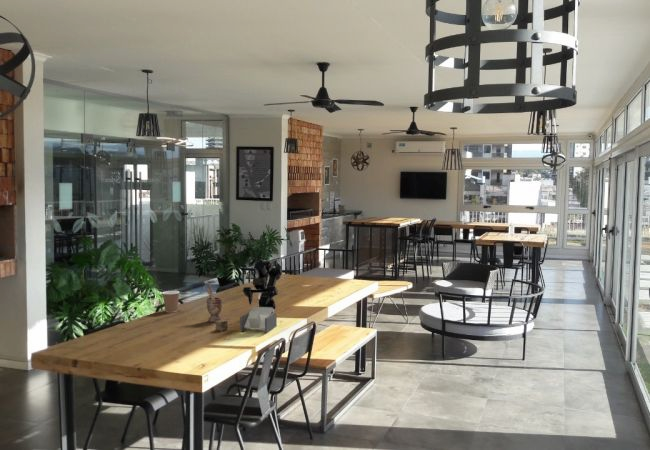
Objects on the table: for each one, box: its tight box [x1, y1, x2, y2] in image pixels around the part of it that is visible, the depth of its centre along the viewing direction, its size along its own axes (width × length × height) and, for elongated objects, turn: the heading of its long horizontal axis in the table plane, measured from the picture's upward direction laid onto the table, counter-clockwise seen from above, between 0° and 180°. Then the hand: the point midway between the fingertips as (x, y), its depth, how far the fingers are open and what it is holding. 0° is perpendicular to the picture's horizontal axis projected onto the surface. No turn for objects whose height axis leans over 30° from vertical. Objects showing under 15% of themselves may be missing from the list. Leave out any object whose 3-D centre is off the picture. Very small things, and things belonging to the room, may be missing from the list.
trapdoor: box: [244, 306, 275, 330], centre depth 341 cm, size 16×12×3 cm
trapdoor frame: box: [239, 311, 278, 334], centre depth 340 cm, size 16×15×8 cm
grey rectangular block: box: [248, 311, 261, 328], centre depth 334 cm, size 5×5×7 cm
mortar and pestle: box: [205, 285, 223, 323], centre depth 360 cm, size 12×9×20 cm
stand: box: [215, 319, 228, 332], centre depth 338 cm, size 4×4×5 cm
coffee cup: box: [162, 290, 180, 313], centre depth 387 cm, size 10×10×12 cm
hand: (257, 304), depth 342 cm, fingers open, 9 cm apart
